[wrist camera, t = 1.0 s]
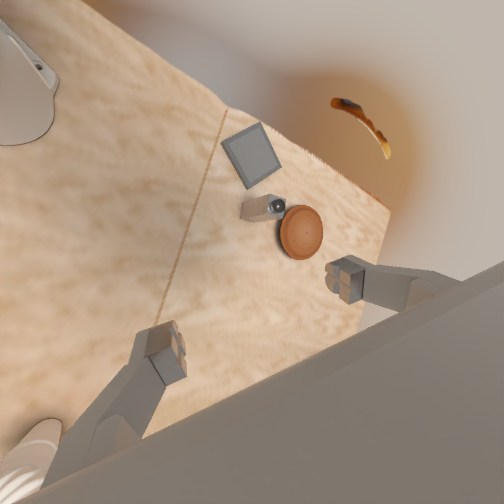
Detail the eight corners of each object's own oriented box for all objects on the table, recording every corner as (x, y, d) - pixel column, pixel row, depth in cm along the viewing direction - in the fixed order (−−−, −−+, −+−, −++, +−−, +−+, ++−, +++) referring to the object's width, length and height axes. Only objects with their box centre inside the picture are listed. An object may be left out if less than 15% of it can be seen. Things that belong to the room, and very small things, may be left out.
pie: (265, 218, 53) (275, 216, 48) (305, 199, 59) (318, 196, 54) (283, 267, 57) (294, 270, 52) (319, 245, 63) (332, 246, 58)
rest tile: (220, 143, 45) (222, 141, 44) (257, 124, 49) (260, 121, 48) (246, 189, 49) (249, 188, 48) (279, 168, 53) (282, 166, 52)
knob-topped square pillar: (239, 218, 49) (269, 213, 37) (242, 203, 49) (273, 192, 37) (253, 222, 51) (286, 218, 38) (256, 207, 51) (289, 198, 38)
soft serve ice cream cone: (58, 397, 36) (-4, 505, 22) (86, 426, 38) (46, 541, 24) (0, 434, 33) (-118, 588, 18) (34, 463, 35) (-47, 620, 21)
